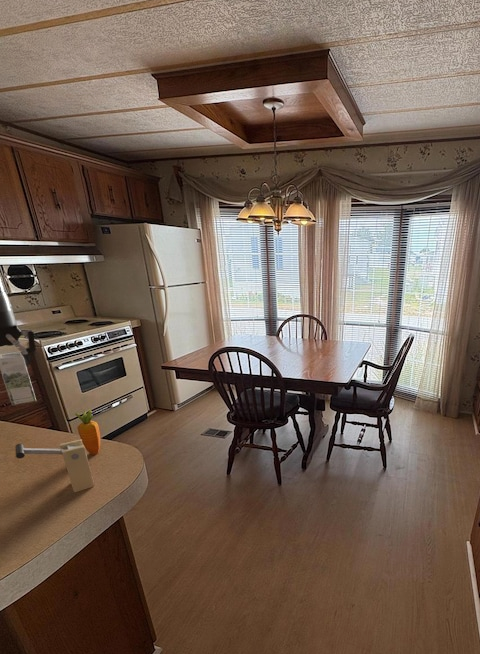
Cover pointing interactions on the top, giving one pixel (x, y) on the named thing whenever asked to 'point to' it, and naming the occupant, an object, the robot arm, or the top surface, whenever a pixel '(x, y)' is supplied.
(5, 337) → the robot arm
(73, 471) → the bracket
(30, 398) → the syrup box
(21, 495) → the top surface
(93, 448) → the carrot
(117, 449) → the top surface
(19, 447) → the lever
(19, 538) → the top surface
